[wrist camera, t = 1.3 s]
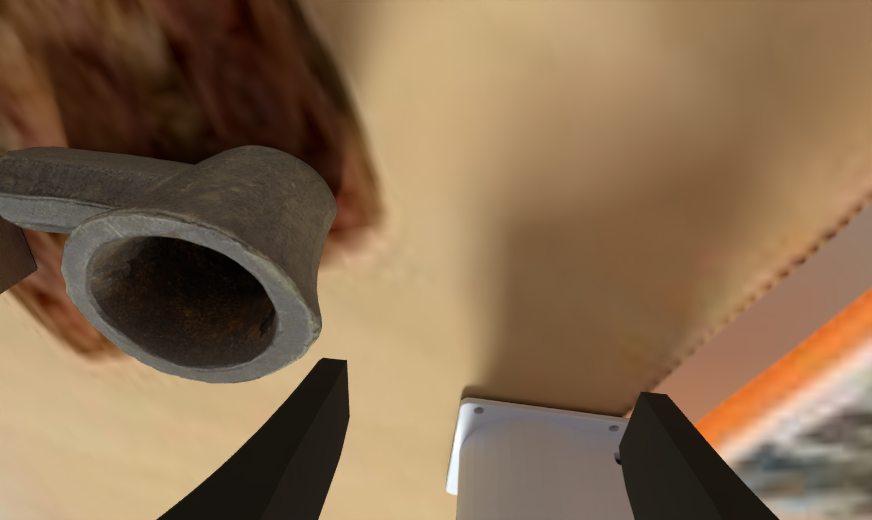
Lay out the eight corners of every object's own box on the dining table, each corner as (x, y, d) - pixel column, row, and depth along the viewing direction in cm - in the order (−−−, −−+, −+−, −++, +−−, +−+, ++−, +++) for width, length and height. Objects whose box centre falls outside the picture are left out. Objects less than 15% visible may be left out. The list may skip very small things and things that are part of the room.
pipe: (53, 96, 19) (-197, 166, 12) (376, 137, 18) (312, 233, 11) (95, 232, 22) (-83, 350, 15) (370, 269, 21) (318, 406, 15)
